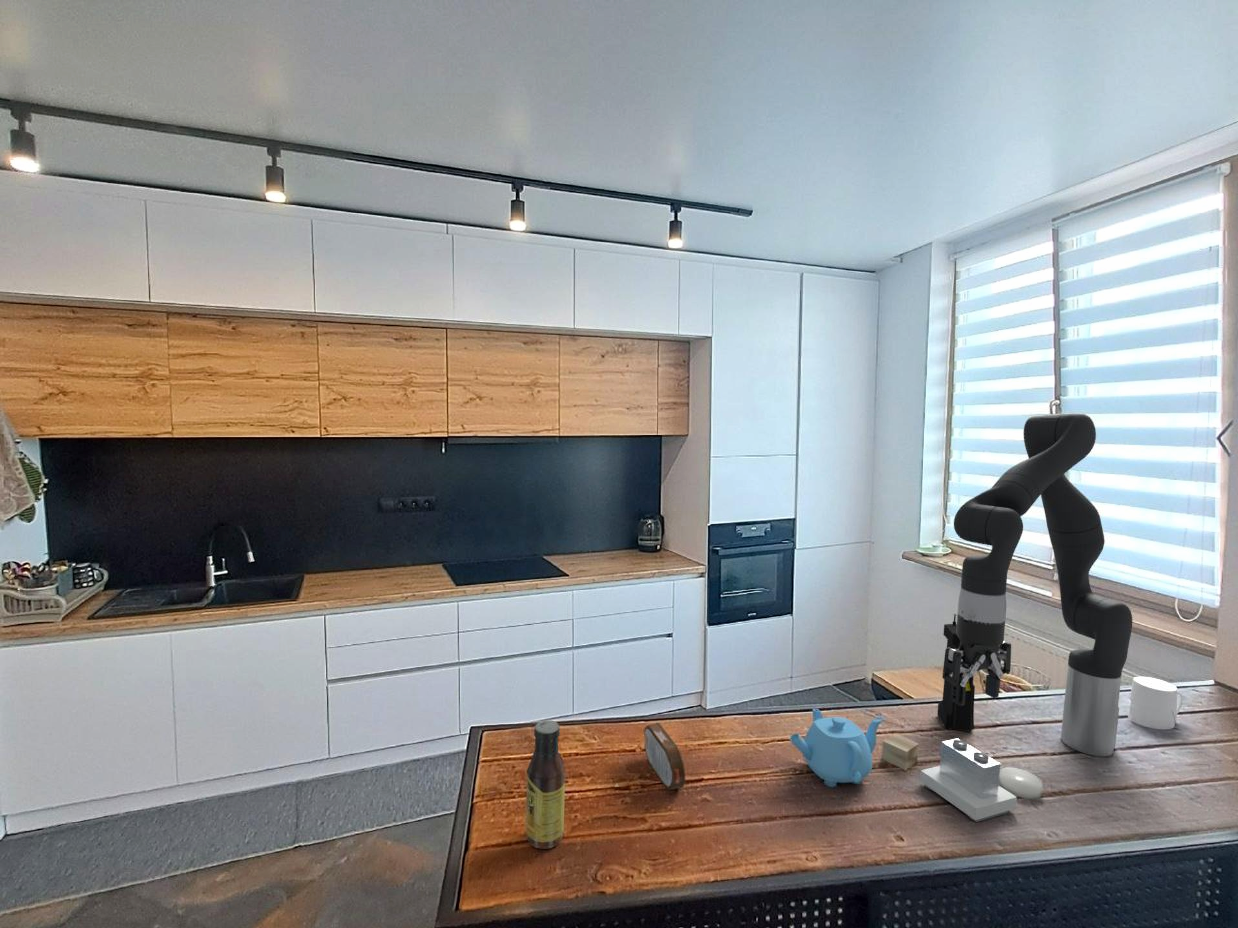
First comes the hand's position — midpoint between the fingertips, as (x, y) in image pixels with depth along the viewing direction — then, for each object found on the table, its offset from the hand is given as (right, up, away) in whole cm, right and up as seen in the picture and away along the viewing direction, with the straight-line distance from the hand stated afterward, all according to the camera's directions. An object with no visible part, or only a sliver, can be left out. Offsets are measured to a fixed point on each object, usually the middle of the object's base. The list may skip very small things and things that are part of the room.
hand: (974, 699), depth 114 cm
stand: (-1, -19, +2) cm, 19 cm away
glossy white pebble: (+12, -19, +6) cm, 23 cm away
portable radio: (+12, -17, +29) cm, 36 cm away
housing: (0, -16, +2) cm, 16 cm away
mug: (+62, -18, +34) cm, 73 cm away
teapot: (-23, -18, +9) cm, 31 cm away
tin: (-57, -18, +7) cm, 60 cm away
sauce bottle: (-78, -19, -12) cm, 81 cm away
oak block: (-7, -18, +14) cm, 24 cm away
